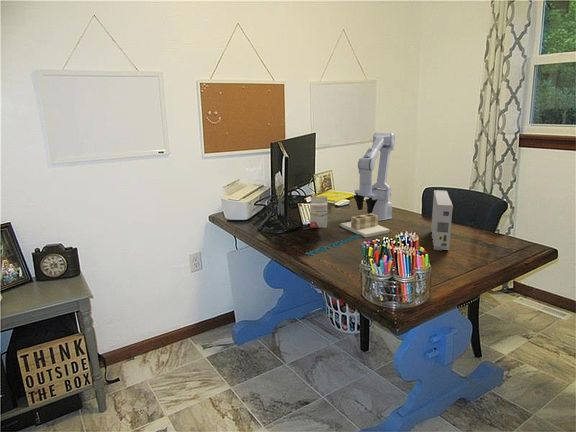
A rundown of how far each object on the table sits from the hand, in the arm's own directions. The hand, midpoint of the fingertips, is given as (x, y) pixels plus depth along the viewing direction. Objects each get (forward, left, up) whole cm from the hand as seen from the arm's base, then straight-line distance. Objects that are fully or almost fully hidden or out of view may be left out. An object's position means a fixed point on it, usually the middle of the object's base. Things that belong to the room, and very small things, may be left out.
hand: (364, 211), depth 200 cm
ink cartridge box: (+16, -16, -9) cm, 24 cm away
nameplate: (+23, +11, -10) cm, 27 cm away
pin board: (0, 0, -9) cm, 9 cm away
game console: (-17, +31, -9) cm, 36 cm away
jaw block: (0, 0, -7) cm, 7 cm away
